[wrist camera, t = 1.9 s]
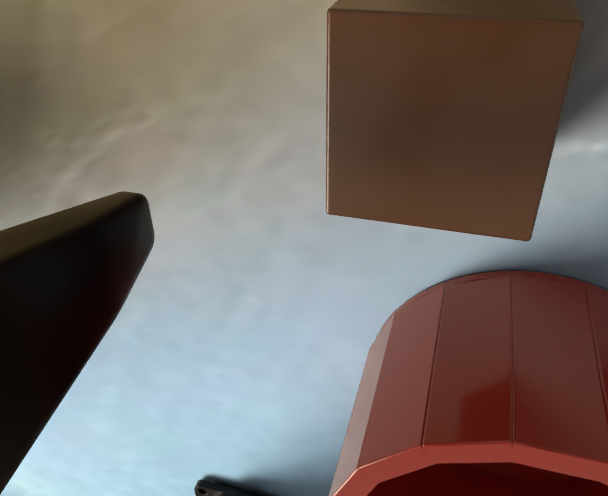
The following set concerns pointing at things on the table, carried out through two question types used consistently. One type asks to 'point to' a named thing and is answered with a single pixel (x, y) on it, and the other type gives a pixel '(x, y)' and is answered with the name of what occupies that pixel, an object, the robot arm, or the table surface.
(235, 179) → the table surface
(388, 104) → the block
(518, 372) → the pot
